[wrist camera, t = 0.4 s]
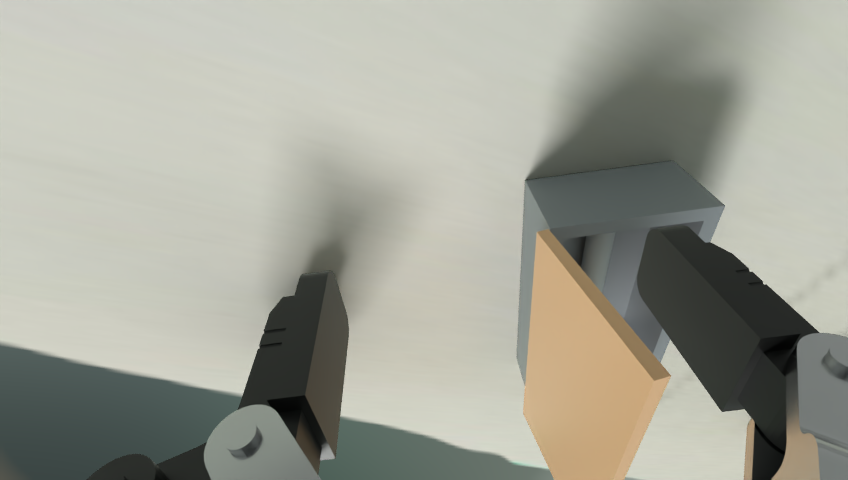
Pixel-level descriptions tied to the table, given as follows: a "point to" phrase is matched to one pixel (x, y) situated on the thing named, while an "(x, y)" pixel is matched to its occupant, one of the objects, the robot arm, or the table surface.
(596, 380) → the tan flat rectangular panel
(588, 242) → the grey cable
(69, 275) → the table surface
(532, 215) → the grey rectangular box
